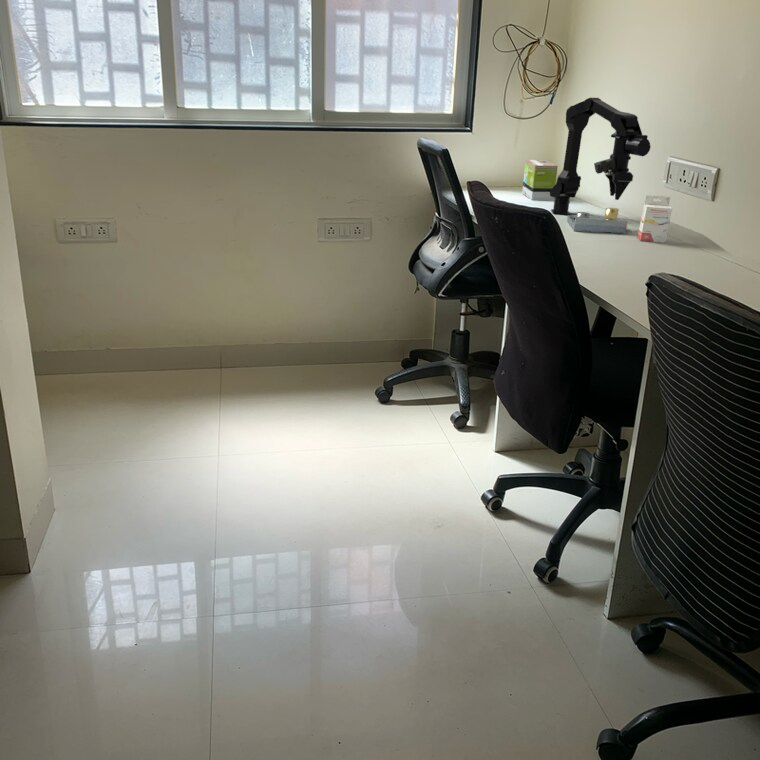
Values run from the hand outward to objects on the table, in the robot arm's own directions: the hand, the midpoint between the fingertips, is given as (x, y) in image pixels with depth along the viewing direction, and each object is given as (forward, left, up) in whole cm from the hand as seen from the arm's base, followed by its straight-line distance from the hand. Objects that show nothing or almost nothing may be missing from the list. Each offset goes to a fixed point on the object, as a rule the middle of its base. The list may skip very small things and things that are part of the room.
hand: (614, 197), depth 277 cm
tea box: (-56, -19, -11) cm, 60 cm away
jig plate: (0, -5, -11) cm, 12 cm away
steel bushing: (0, -10, -11) cm, 15 cm away
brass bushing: (0, 0, -11) cm, 11 cm away
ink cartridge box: (+16, +11, -11) cm, 22 cm away
